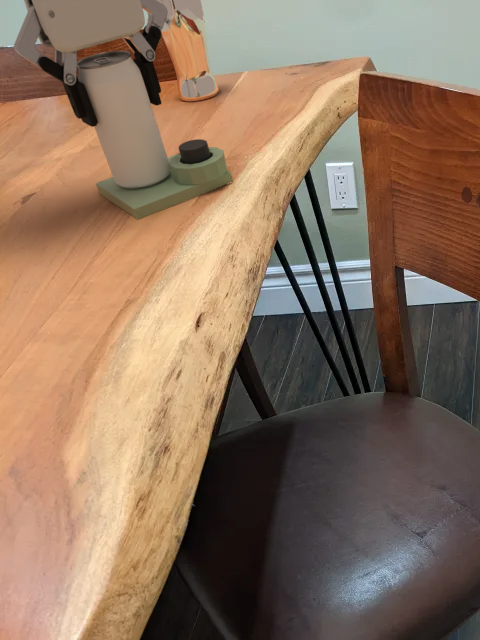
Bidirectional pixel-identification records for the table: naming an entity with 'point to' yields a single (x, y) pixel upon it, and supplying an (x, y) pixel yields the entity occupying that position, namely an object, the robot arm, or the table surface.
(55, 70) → the robot arm
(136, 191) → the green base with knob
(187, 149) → the button
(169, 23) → the beer glass
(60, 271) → the table surface
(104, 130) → the can
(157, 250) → the table surface
